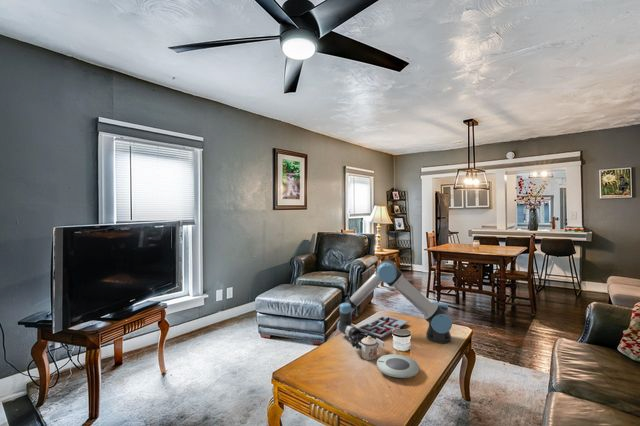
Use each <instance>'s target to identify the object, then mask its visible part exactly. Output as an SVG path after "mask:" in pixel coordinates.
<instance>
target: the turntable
mask: <svg viewBox="0 0 640 426" xmlns="http://www.w3.org/2000/svg"><path fill="white" fill-rule="evenodd" d="M419 366H420V365H419V364H418V362H417V361H416V360H415V359H413V358H412V357H409V356H406V355H404V354H403V355H402V354H395V353H394V354H393V353H392V354H384V355H382V356H380V357H379V358H378V359H377V361H376V368H377V369H378V370H379V371H380V372H381V373H382V374H384V375H386V376H388V377H389V376H392V377H396V378H406V379H408V377H409V378H412V377H415V376H416V375H418V373H419V372H420V367H419ZM392 377H391V378H392Z"/></svg>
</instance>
